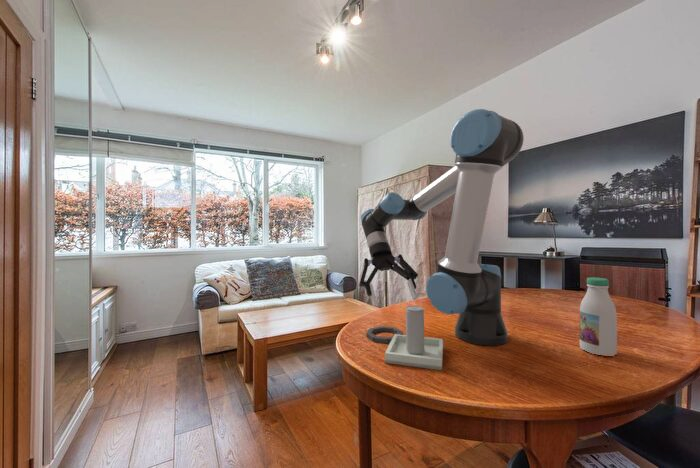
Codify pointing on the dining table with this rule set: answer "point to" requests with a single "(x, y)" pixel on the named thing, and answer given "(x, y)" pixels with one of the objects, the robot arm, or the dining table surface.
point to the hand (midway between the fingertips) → (395, 301)
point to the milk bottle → (598, 319)
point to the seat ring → (379, 329)
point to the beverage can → (415, 330)
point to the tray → (427, 359)
